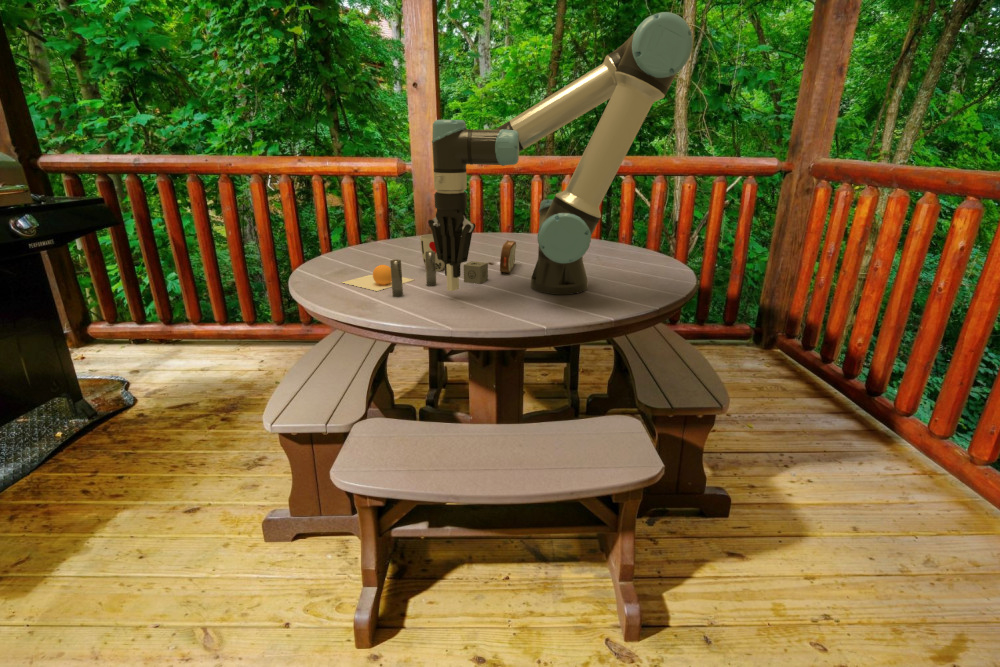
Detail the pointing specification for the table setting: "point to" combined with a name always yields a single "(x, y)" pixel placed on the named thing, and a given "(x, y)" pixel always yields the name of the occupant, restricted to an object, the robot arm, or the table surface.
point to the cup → (429, 245)
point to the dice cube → (475, 272)
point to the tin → (507, 256)
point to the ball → (382, 274)
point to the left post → (396, 278)
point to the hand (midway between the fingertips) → (453, 289)
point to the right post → (430, 268)
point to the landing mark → (372, 283)
